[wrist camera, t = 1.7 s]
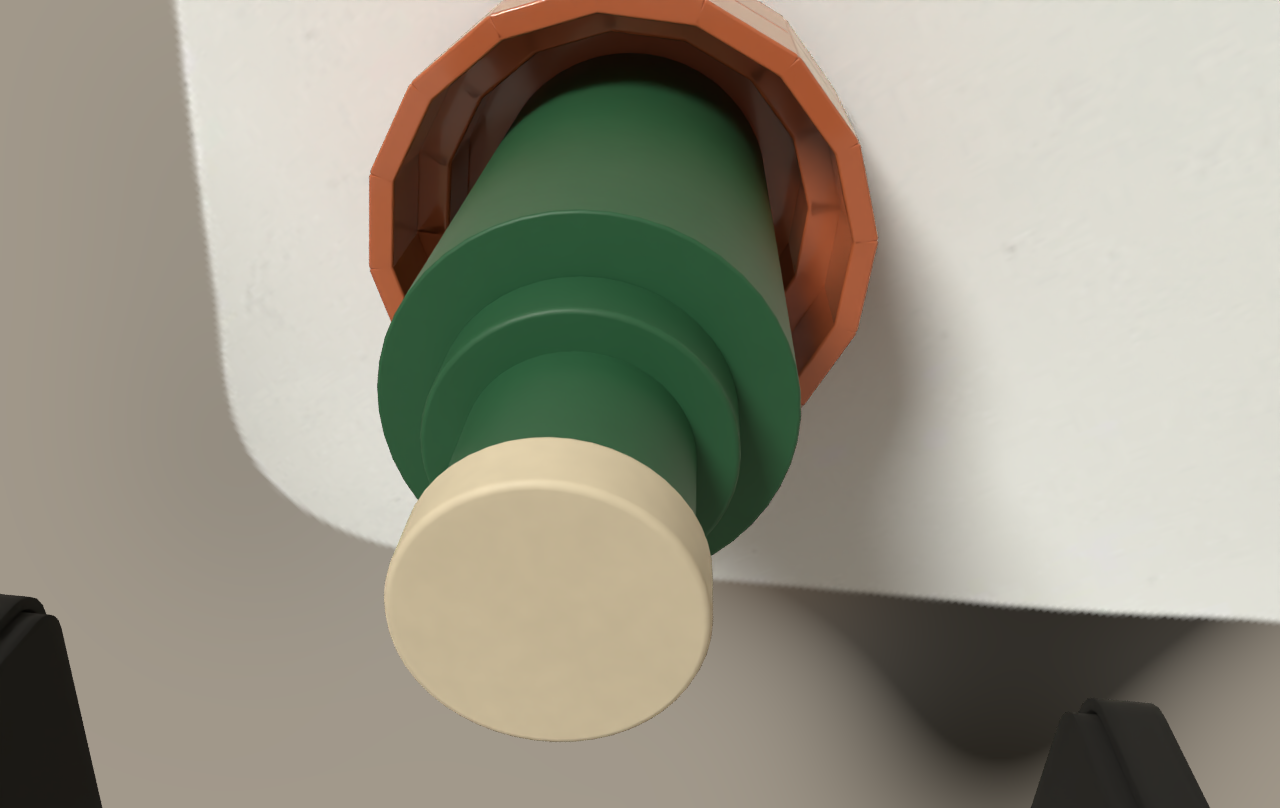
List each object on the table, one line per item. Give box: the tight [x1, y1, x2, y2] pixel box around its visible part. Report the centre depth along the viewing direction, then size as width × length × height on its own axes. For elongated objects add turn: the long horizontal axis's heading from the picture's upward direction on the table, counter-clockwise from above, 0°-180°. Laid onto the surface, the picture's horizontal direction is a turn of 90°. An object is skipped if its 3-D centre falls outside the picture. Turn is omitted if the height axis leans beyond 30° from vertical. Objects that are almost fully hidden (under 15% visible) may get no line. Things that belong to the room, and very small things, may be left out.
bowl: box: [369, 0, 878, 407], centre depth 24 cm, size 10×10×5 cm
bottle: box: [377, 53, 801, 742], centre depth 19 cm, size 6×6×16 cm
